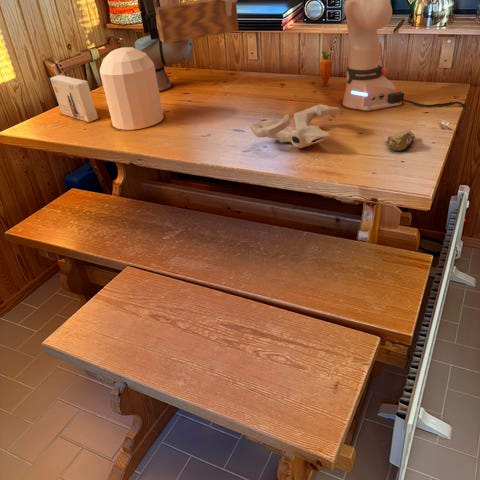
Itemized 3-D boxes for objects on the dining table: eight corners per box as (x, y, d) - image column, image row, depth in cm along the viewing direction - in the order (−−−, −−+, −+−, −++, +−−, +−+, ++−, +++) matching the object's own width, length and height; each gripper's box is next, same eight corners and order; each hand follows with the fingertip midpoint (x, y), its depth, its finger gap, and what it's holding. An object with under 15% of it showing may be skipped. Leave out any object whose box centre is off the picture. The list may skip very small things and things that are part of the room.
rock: (408, 140, 153) (379, 139, 152) (414, 122, 149) (384, 120, 148) (421, 154, 144) (391, 153, 143) (428, 135, 140) (396, 133, 139)
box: (164, 43, 157) (158, 9, 151) (160, 40, 162) (154, 7, 156) (238, 30, 164) (235, -3, 158) (232, 28, 168) (229, -5, 162)
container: (119, 134, 177) (100, 57, 161) (107, 118, 193) (89, 47, 177) (170, 121, 183) (157, 47, 167) (155, 107, 199) (142, 38, 184)
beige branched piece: (248, 155, 150) (245, 120, 144) (261, 127, 172) (259, 95, 165) (336, 156, 144) (338, 119, 138) (338, 126, 166) (340, 93, 159)
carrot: (331, 83, 206) (332, 48, 198) (329, 87, 202) (330, 51, 194) (320, 83, 208) (321, 48, 199) (318, 87, 204) (319, 51, 195)
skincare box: (60, 114, 202) (49, 77, 193) (71, 110, 206) (60, 74, 196) (87, 122, 190) (77, 83, 181) (98, 118, 194) (88, 80, 184)
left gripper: (157, -37, 136) (169, 40, 148) (143, -40, 156) (155, 28, 168) (132, -34, 135) (146, 43, 147) (121, -37, 154) (135, 31, 167)
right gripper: (240, -31, 147) (244, 16, 155) (219, -34, 163) (223, 9, 171) (221, -29, 145) (226, 19, 153) (202, -31, 161) (207, 12, 169)
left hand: (151, 35), depth 158 cm, fingers open, 13 cm apart
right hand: (224, 14), depth 162 cm, fingers closed on box, 6 cm apart
